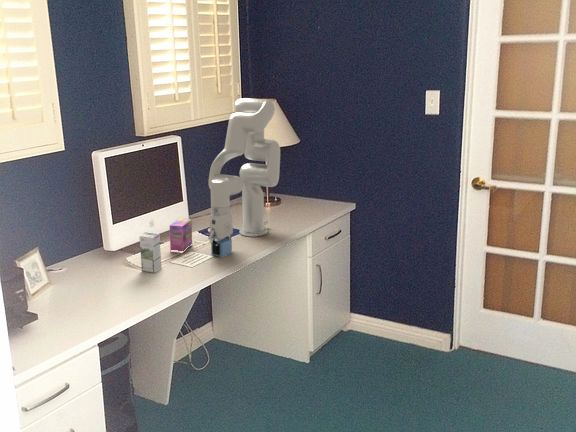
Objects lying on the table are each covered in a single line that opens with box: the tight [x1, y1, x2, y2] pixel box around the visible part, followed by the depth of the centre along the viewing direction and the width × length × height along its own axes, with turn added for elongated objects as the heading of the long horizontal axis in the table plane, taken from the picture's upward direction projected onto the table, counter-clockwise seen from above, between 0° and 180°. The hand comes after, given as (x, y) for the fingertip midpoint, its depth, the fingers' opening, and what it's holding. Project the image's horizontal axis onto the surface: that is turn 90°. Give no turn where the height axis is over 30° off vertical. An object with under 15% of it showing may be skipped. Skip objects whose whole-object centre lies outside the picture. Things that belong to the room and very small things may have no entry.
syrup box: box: [139, 231, 162, 274], centre depth 255 cm, size 6×6×14 cm
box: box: [169, 217, 193, 251], centre depth 279 cm, size 10×6×12 cm, turn 165°
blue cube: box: [210, 238, 233, 258], centre depth 274 cm, size 6×6×6 cm
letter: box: [169, 251, 214, 268], centre depth 268 cm, size 14×11×1 cm
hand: (221, 251), depth 275 cm, fingers open, 6 cm apart
